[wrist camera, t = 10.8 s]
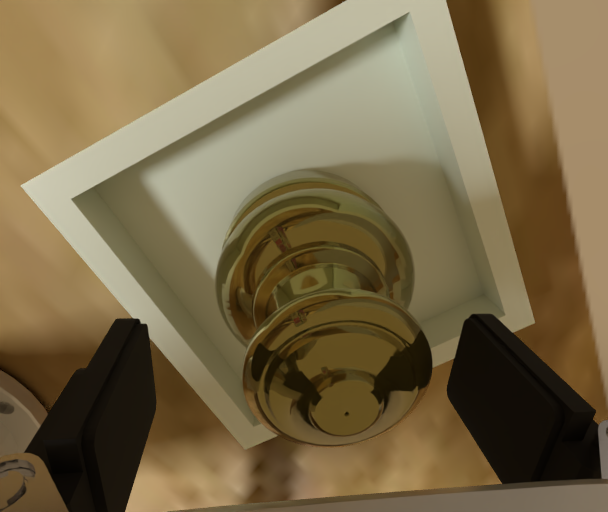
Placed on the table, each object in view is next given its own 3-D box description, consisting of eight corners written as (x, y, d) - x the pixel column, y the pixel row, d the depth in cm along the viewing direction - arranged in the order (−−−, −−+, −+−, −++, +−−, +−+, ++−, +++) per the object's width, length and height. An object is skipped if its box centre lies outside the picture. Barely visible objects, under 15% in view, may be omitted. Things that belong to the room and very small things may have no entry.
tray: (502, 294, 21) (535, 323, 19) (247, 409, 23) (244, 450, 20) (403, -26, 15) (432, -49, 12) (58, 169, 16) (20, 185, 14)
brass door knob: (359, 323, 20) (436, 521, 11) (215, 301, 19) (167, 505, 10) (405, 186, 17) (560, 300, 8) (240, 150, 16) (204, 237, 7)
